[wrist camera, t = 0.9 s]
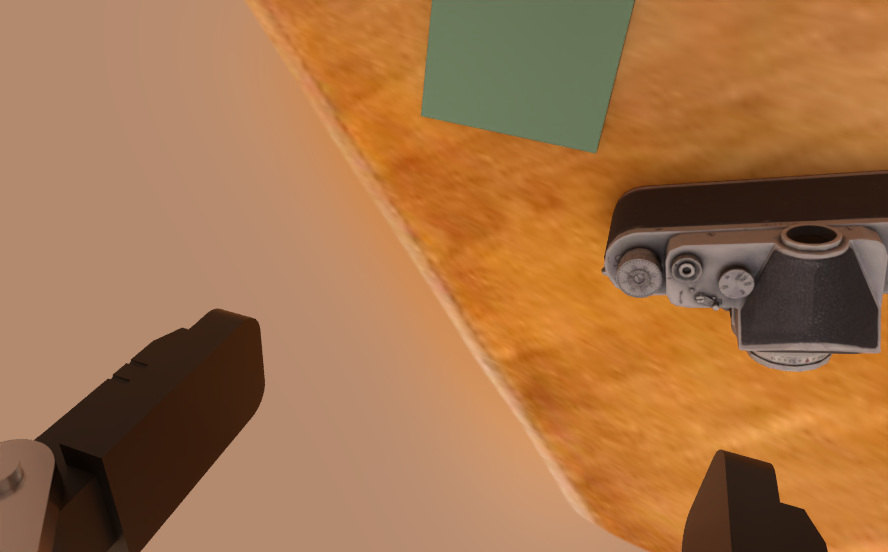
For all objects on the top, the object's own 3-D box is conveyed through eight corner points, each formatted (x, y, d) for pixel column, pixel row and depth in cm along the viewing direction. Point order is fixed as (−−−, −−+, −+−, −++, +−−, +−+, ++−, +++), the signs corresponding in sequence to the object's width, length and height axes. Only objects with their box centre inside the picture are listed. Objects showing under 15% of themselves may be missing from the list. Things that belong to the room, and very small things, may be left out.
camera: (614, 312, 39) (597, 419, 31) (606, 183, 35) (585, 266, 27) (917, 314, 34) (996, 446, 25) (945, 163, 30) (1047, 259, 22)
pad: (442, -85, 31) (440, -85, 31) (648, -55, 29) (648, -55, 29) (423, 114, 37) (421, 115, 36) (596, 151, 35) (595, 153, 34)
